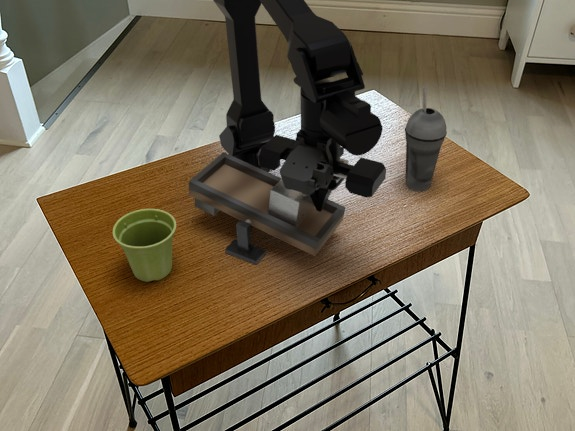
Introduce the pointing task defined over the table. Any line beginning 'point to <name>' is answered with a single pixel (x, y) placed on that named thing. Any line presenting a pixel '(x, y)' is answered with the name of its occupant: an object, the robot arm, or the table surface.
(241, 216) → the grey tray
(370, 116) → the robot arm
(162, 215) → the plant pot
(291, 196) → the steel rider
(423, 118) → the beverage cup
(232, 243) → the stand
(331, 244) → the table surface
